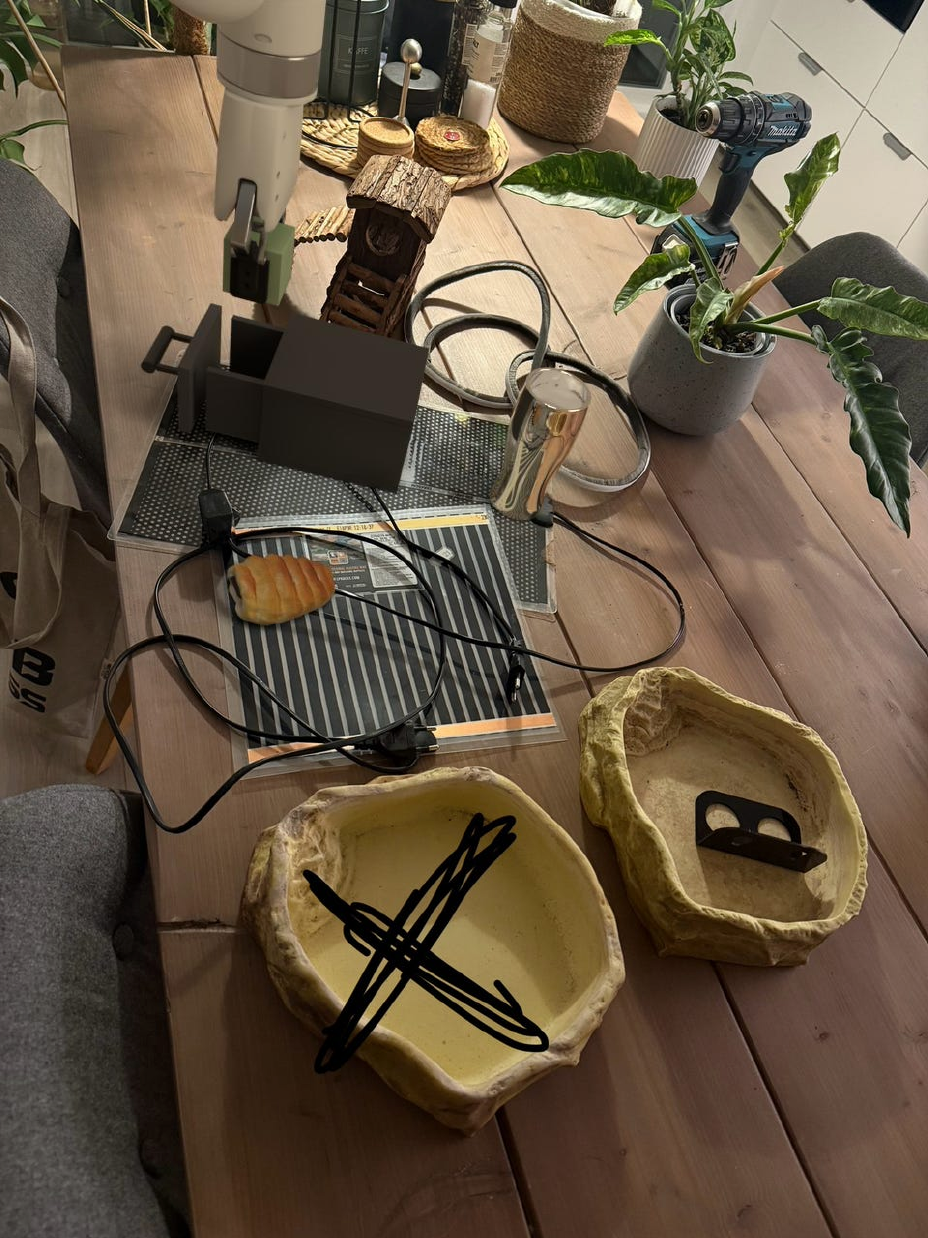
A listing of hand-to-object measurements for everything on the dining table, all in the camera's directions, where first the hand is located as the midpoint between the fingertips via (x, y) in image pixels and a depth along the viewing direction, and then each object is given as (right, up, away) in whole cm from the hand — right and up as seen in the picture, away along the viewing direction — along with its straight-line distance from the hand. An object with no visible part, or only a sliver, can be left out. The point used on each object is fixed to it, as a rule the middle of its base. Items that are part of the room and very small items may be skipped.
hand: (256, 279), depth 79 cm
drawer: (-5, -8, +13) cm, 17 cm away
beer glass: (+24, -18, +16) cm, 34 cm away
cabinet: (+5, -11, +15) cm, 20 cm away
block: (0, 0, 0) cm, 0 cm away
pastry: (+1, -29, 0) cm, 29 cm away
